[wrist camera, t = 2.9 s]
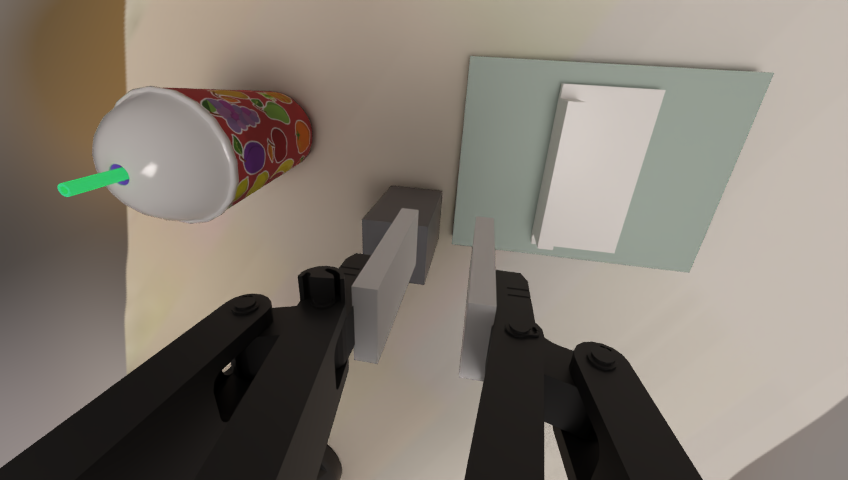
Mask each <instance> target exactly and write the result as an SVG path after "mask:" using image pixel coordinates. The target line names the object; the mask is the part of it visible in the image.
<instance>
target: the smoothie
mask: <svg viewBox="0 0 848 480" xmlns="http://www.w3.org/2000/svg"><path fill="white" fill-rule="evenodd" d="M311 144H312V127H311V124H310V121H309V118H308V117H307V115H306V113H305V112H304V110H303V109H302V108H301V107H300V106H299V105H298V104H297V103H296V102H295V101H294V100H293V99H292V98H290V97H288V96H286V95H284V94H282V93H278V92H272V91H247V90H217V89H188V88H160V87H155V86H147V87H142V88H137V89H132V90H131V91H129V92H128V93H127V94H126V95H124V96H123V97H122V98H121V99H119V100H118V101H117V103H116V105H115V107H114V109H112V110H111V111H110V112H109V113H107V114H106V115H105V116H104V118H103V119H102V121H101V122H100V124H99V126H98V128H97V131H96V133H95V135H94V139H93V154H92V155H93V159H94V163H95V167H96V170H97V172H98V174H95V175H91V176H87V177H83V178H79V179H75V180H71V181H67V182H64V183H60V184H59V185H58V190H59V192H60V193H61V194H62V195H63V196H65V197H69V196H73V195H76V194H80V193H83V192H87V191H90V190H94V189H97V188H100V187H104V186H106V187H107V188H108V189H109V191H110V192H111V193H112V194H113V195H114V196H115V197H116V198H117V199H119V200H120V201H121V202H122V203H124V204H125V205H127V206H129V207H131V208H133V209H135V210H136V211H138V212H140V213H142V214H144V215H148V216H151V217H156V218H160V219H165V220H172V221H180V222H185V223H190V224H193V223H203V222H209V221H211V220H212V219H214V218H216V217H218V216H220V215H222V214H223V213H224V212H225V211H226V210H227V209H228V208H230V207H232V206H233V205H235V204H236V203H238V202H239V201H241V200H243V199H244V198H246V197H247V196H249V195H250V194H252V193H254V192H255V191H257V190H258V189H260V188H261V187H263V186H264V185H266V184H268V183H269V182H271V181H272V180H274V179H275V178H277V177H279V176H280V175H282V174H283V173H285V172H286V171H288V170H290V169H291V168H293V167H294V166H296V165H297V164H299V163H301V162H302V161H303V160H304V159H305V157H306V156H307V155H308V153H309V151H310V147H311Z"/></svg>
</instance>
